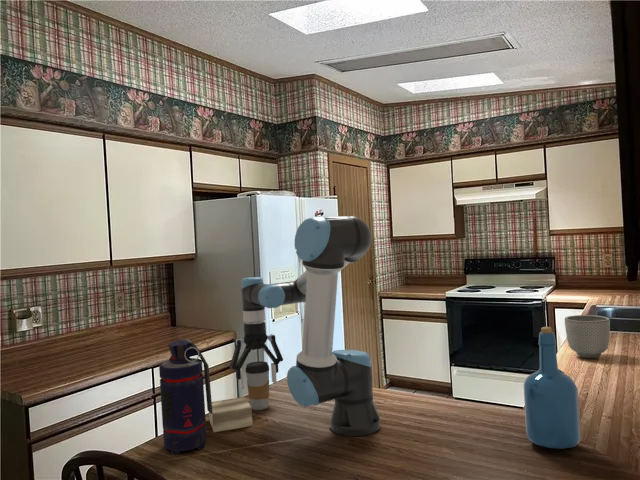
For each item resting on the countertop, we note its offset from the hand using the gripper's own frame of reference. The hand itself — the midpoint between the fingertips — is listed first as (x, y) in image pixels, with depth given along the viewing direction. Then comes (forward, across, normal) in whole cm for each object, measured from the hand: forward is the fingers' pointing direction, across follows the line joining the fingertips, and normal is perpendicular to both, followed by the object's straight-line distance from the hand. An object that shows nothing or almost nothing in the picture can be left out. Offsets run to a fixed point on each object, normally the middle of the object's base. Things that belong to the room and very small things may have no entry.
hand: (258, 385), depth 178 cm
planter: (+8, -142, +19) cm, 143 cm away
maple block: (+8, +13, +9) cm, 17 cm away
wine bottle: (+8, -58, +72) cm, 93 cm away
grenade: (+8, +28, +20) cm, 36 cm away
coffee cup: (+8, 0, 0) cm, 8 cm away
